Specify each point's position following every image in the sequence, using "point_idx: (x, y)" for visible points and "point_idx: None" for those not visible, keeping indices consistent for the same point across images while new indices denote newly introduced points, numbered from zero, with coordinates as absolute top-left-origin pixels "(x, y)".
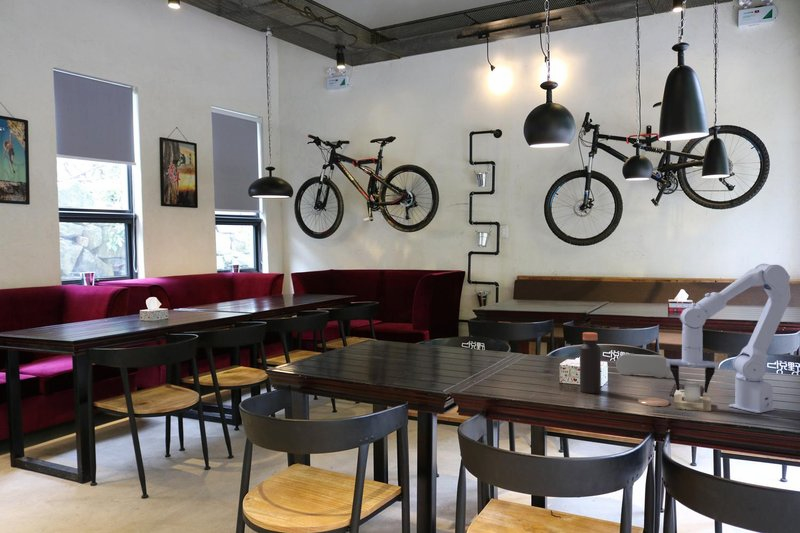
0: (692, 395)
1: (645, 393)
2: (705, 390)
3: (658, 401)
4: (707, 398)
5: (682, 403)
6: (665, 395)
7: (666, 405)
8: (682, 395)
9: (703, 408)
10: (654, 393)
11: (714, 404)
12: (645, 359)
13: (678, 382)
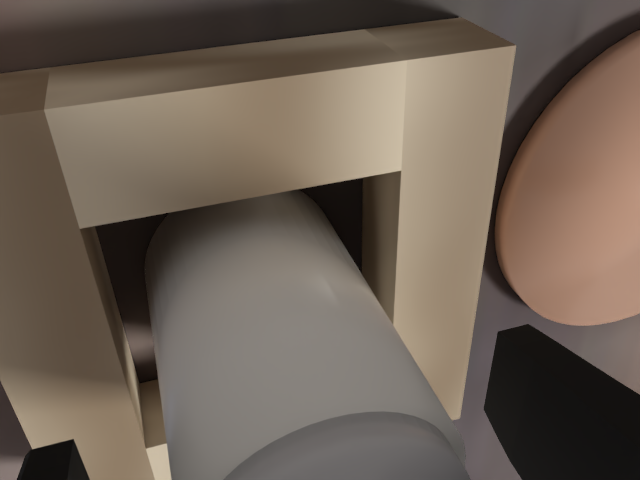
0: (275, 289)
1: None
2: (52, 475)
3: (614, 196)
4: None
5: (391, 59)
6: (482, 475)
7: (537, 124)
8: None
9: (42, 80)
10: None
11: (11, 466)
12: None
13: (620, 423)
